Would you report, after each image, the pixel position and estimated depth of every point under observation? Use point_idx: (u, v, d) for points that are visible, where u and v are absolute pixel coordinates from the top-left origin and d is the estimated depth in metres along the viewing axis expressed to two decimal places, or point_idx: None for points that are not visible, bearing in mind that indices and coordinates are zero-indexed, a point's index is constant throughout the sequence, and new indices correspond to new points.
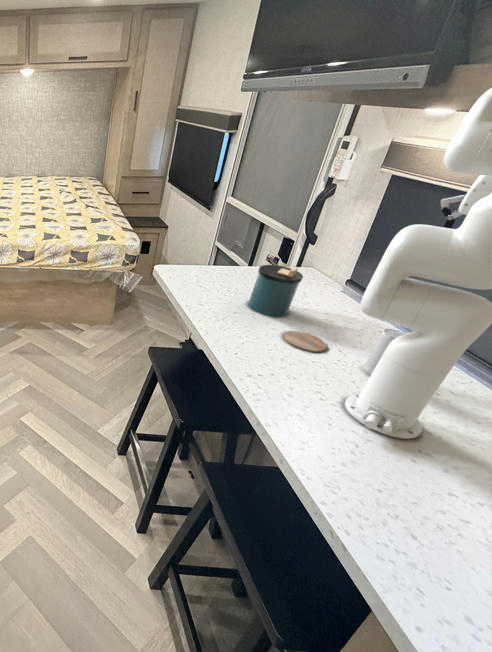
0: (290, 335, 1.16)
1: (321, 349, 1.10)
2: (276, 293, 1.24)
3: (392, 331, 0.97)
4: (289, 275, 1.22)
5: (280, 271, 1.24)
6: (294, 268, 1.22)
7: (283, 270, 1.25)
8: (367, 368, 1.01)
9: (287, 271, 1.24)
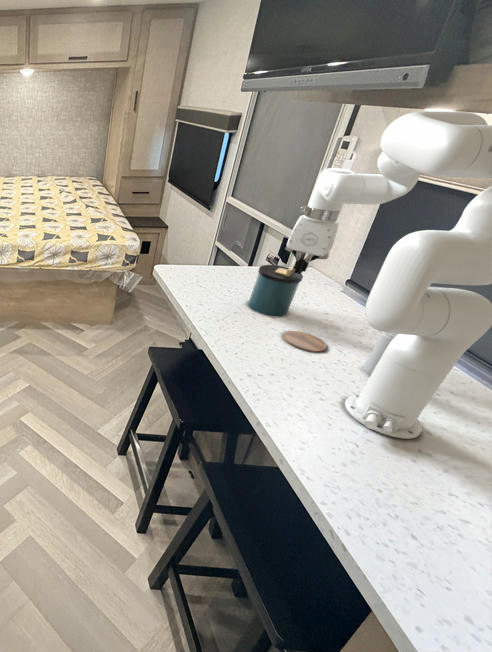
0: (290, 335, 1.16)
1: (321, 349, 1.10)
2: (276, 293, 1.24)
3: None
4: (287, 274, 1.22)
5: (278, 270, 1.25)
6: (292, 267, 1.23)
7: (281, 269, 1.25)
8: (367, 368, 1.01)
9: (285, 270, 1.25)
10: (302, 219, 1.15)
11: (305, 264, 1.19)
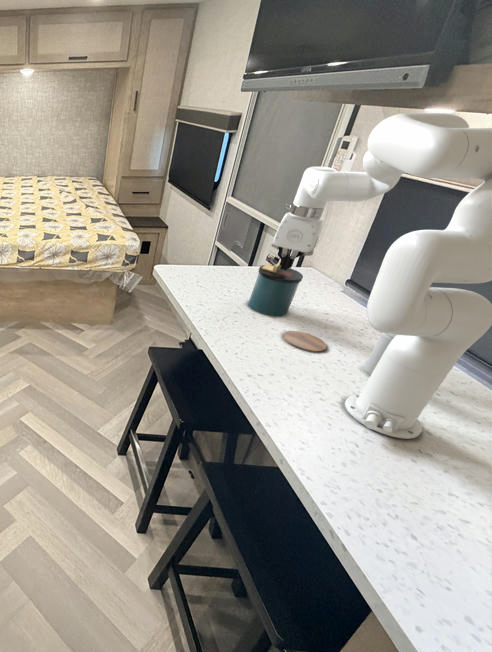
0: (290, 335, 1.16)
1: (321, 349, 1.10)
2: (276, 293, 1.24)
3: None
4: (273, 271, 1.25)
5: (265, 267, 1.27)
6: (278, 264, 1.25)
7: (268, 266, 1.28)
8: (367, 368, 1.01)
9: (271, 267, 1.27)
10: (287, 216, 1.17)
11: (291, 260, 1.22)
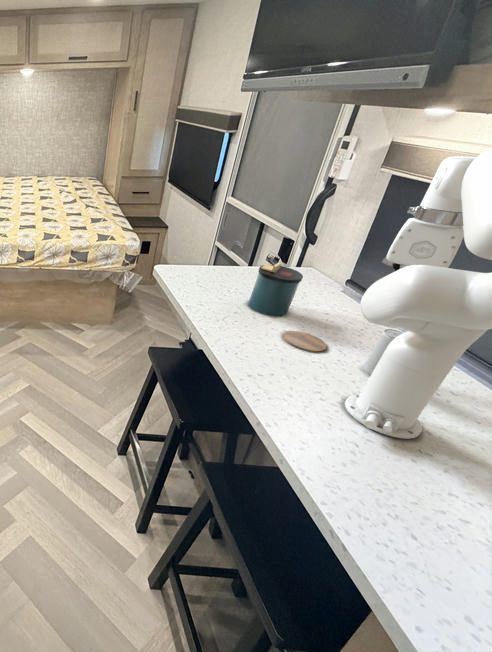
0: (290, 335, 1.16)
1: (321, 349, 1.10)
2: (276, 293, 1.24)
3: (392, 331, 0.97)
4: (272, 270, 1.25)
5: (264, 267, 1.27)
6: (277, 264, 1.25)
7: (267, 266, 1.28)
8: (367, 368, 1.01)
9: (271, 267, 1.27)
10: (412, 223, 0.88)
11: None
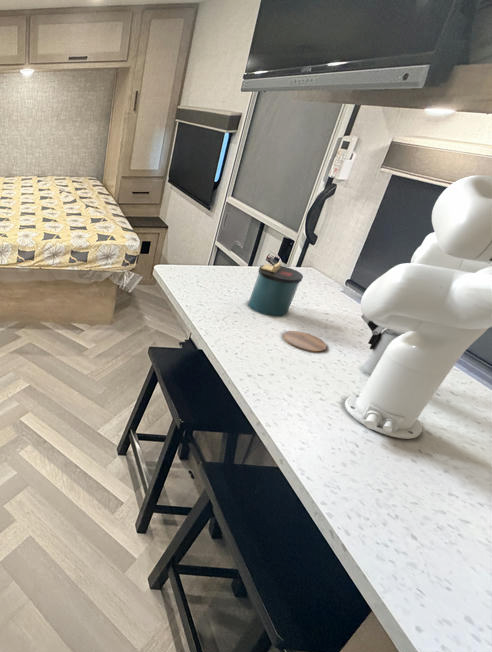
0: (290, 335, 1.16)
1: (321, 349, 1.10)
2: (276, 293, 1.24)
3: (392, 331, 0.97)
4: (272, 270, 1.25)
5: (264, 267, 1.27)
6: (277, 264, 1.25)
7: (267, 266, 1.28)
8: (367, 368, 1.01)
9: (271, 267, 1.27)
10: None
11: None
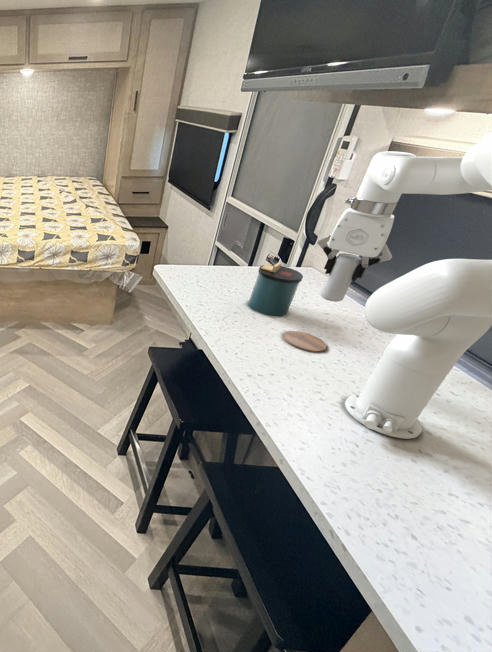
0: (290, 335, 1.16)
1: (321, 349, 1.10)
2: (276, 293, 1.24)
3: (346, 255, 1.02)
4: (272, 270, 1.25)
5: (264, 267, 1.27)
6: (277, 264, 1.25)
7: (267, 266, 1.28)
8: (323, 292, 1.05)
9: (271, 267, 1.27)
10: (348, 213, 0.96)
11: (362, 269, 0.99)
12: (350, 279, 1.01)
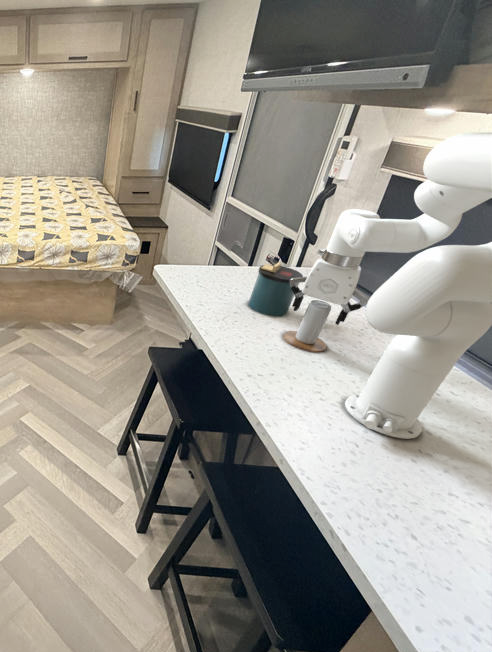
0: (290, 335, 1.16)
1: (321, 349, 1.10)
2: (276, 293, 1.24)
3: (318, 302, 1.09)
4: (272, 270, 1.25)
5: (264, 267, 1.27)
6: (277, 264, 1.25)
7: (267, 266, 1.28)
8: (298, 335, 1.13)
9: (271, 267, 1.27)
10: (320, 264, 1.04)
11: (344, 314, 1.04)
12: (321, 325, 1.09)
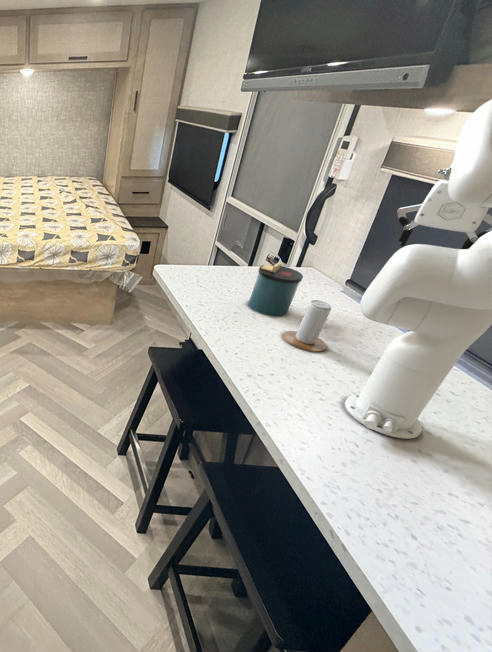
0: (290, 335, 1.16)
1: (321, 349, 1.10)
2: (276, 293, 1.24)
3: (318, 302, 1.09)
4: (272, 270, 1.25)
5: (264, 267, 1.27)
6: (277, 264, 1.25)
7: (267, 266, 1.28)
8: (298, 335, 1.13)
9: (271, 267, 1.27)
10: (442, 185, 0.89)
11: (470, 244, 0.89)
12: (321, 325, 1.09)
